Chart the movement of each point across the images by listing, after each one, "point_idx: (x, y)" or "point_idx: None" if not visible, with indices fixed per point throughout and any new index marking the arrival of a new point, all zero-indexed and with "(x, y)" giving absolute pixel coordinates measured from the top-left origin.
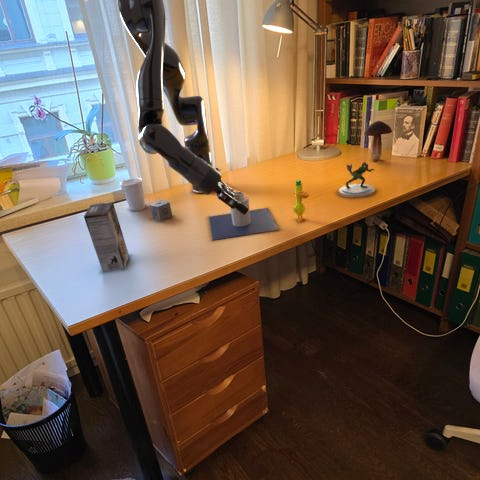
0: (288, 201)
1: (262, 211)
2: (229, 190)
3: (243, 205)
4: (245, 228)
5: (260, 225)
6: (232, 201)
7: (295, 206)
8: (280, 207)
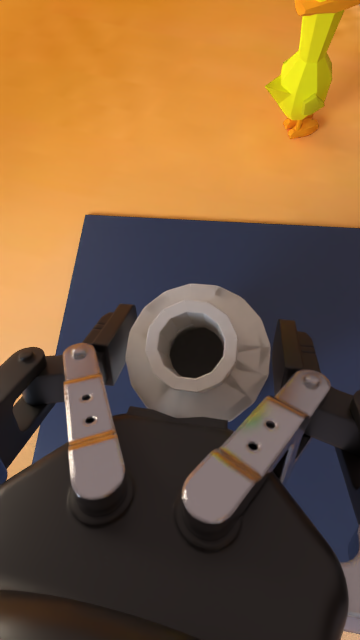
0: (61, 124)
1: (116, 243)
2: (247, 445)
3: (299, 345)
4: None
5: (286, 292)
6: (210, 409)
7: (310, 85)
8: (108, 166)
